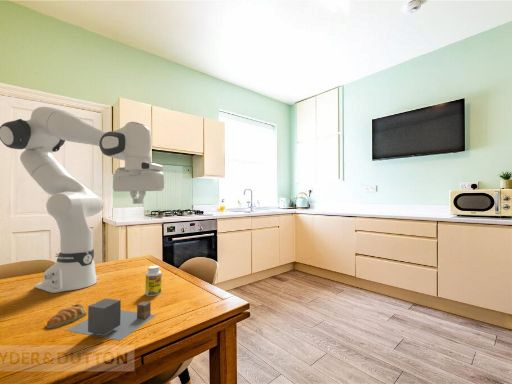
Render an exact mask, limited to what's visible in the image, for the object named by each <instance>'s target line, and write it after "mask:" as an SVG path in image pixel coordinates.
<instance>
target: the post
mask: <svg viewBox="0 0 512 384" xmlns="http://www.w3.org/2000/svg"><path fill="white" fill-rule="evenodd" d="M151 305H152V303H151V301H145V300H144V301H142V302H140V303H138V304H136V312H137V318H138V319H146V318H147V317H149V316H150V314H151Z"/></svg>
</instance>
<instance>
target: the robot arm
mask: <svg viewBox="0 0 512 384" xmlns="http://www.w3.org/2000/svg"><path fill="white" fill-rule="evenodd" d="M0 141H1V143H2V144H3V145H4V146H5V147H7V148H9V149H15V150H23V149H24V150H23V151H22V152H21V153H20V156H19V159H20V162H21V164H22V165H23V168H24V169H25V170H26V172H27V173H28V174H29V175H30V177H31V179H32V180H34V181H35V183H37V185H38V186H39V187H40V188H41V189H42V190H43V191H44V192H45V193H47V194H48V195H51V196H49V198H48V199H47V201H46V204H45V206H46V211H47V212H48V214H49V215H50V216H51V217H53V219H54V220H55V222H56V224H57V227H58V231H59V238H60V239H59V240H60V250H59V251H60V252H58V253H55V258H57V259H56V262H55V263H54V264H52V265H51V266H50V267H49V268H47V269H46V270H45V271H44V274H43V280H42V281H41V282H38V283H36V284H35V289H36V288H37V289H39V290H42V291H45V292H48V293H51V294H56V293H60V292H68V291H74V290H79V289H84V288H85V289H86V288H87V287H90V286H92V285H95V284H96V283H97V281H98V275H97V274H96V265H95V263H96V262H95V260H94V258H95V250H94V247H93V246H94V238H93V237H94V230H93V229H91V227H90V226H89V224H88V221H87V218H89V217H93V216H95V215H97V214H98V213H100V212H101V211H102V210H103V207H104V200H103V199H102V197H101V196H99V195H98V194H95V193H94V192H93V191H91V190H90V189H88V188H87V187H86V186H85V185H83V183H81V182H79V181H78V180H77V179H76V178H74V176H72V174H70V173H69V172H68V170H66V168H65V167H64V166H63V165H62V164H61V163H60V162H59V161H58V160H57V159H56V158H55V156H54V154H53V153H55V152H58V151H60V148H61V147H62V146H63V145H64V144H65V142H71V143H78V144H85V145H91V146H97V147H99V149H100V151H101V153H102V154H103V155H104V156H107V157H109V158H112V159H113V158H114V159H115V160H116V159H117V160H121V161H124V167H123V166H122V167H121V166H120V167H117V169H116V170H115V171H114V174H113V175H114V176H113V181H112V189H113V191H114V192H121V193H123V192H129V194H130V197H131V199H132V204H134V205H135V204H137V205H138V204H140V205H141V204H143V203H144V198H145V196H146V193H147V192H162V191H163V190H164V189H165V176H164V173H163V171H164V168H163V167H164V166H163V165H161V164H158V163H155V162H153V161H152V156H151V150H152V134H151V130H150V128H149V127H148V126H147V125H145V124H142V123H140V122H137V121H128V122H127V123H125V125H124V126H123V127H121V128H118V129H116V130H113V131H107V132H105V130H101V129H100V128H98V127H96V126H94V125H93V124H91V123H89V122H88V121H86V120H84V119H82V118H81V117H79V116H77V115H75V114H73V113H71V112H69V111H66V110H63V109H60V108H54V107H52V106H51V107H49V106H39V107H36V108H34V110H33V111H32V112H31V115H30V119H27V120H23V119H22V118H19V119H15V120H11V121H7V122H4V123H2V124H1V125H0ZM137 195H138V196H137Z"/></svg>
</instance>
